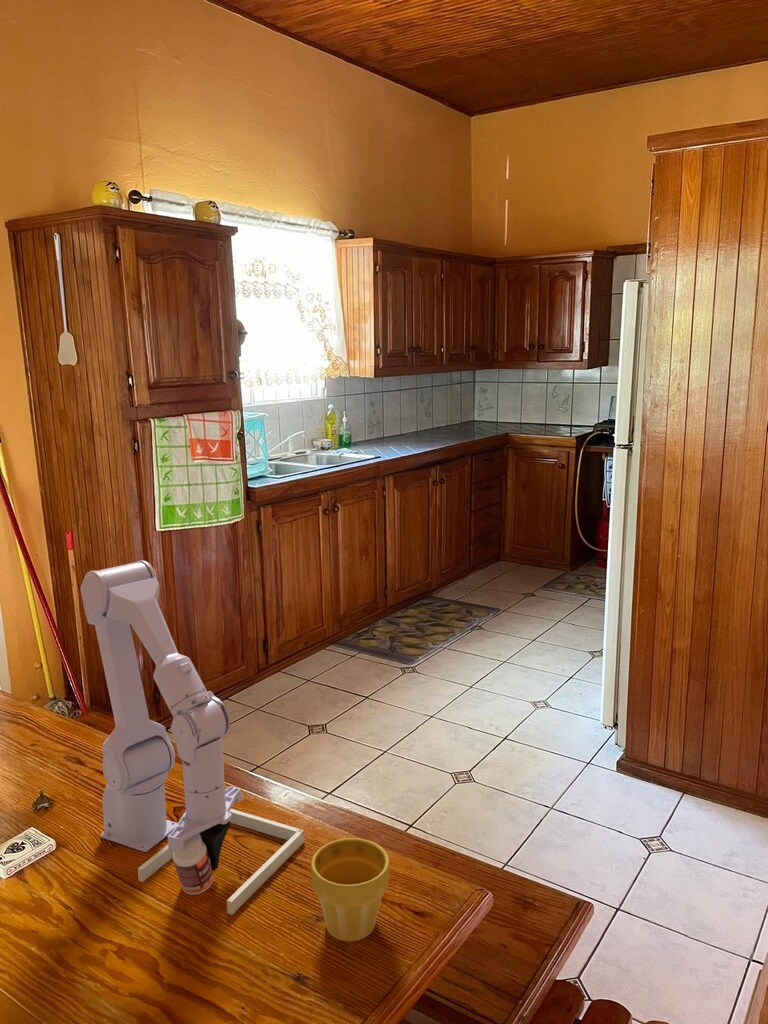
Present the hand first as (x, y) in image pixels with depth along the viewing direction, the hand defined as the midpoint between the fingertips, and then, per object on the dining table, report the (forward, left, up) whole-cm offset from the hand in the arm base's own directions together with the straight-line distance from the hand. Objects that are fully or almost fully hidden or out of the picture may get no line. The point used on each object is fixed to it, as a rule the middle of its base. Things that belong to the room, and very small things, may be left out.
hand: (209, 868), depth 117 cm
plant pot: (+23, 0, -2) cm, 23 cm away
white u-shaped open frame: (-1, +4, -1) cm, 4 cm away
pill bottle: (0, -2, -1) cm, 2 cm away
